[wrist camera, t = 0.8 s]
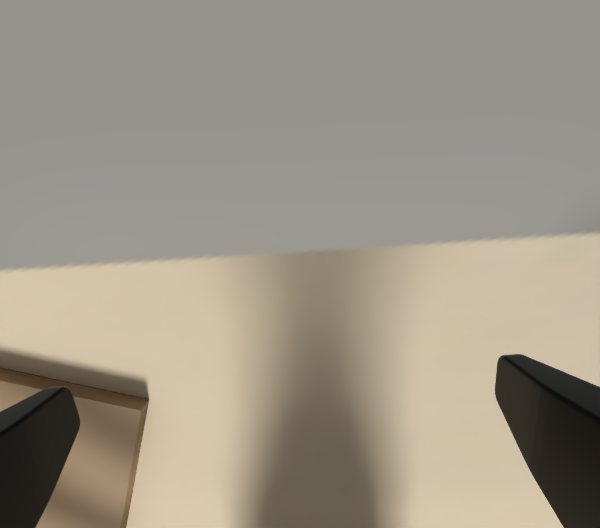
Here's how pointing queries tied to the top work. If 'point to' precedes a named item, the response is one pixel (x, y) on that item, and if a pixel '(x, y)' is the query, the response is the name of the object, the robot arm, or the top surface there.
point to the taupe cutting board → (89, 453)
